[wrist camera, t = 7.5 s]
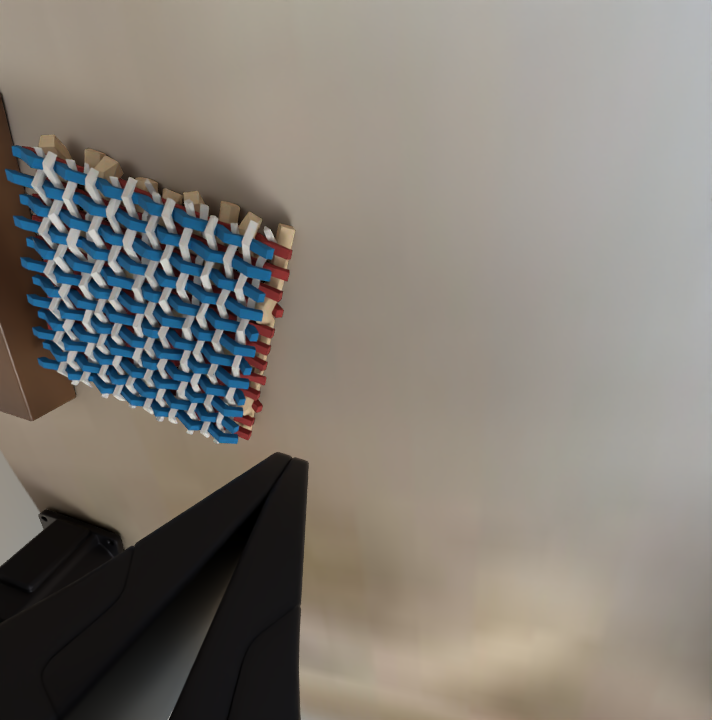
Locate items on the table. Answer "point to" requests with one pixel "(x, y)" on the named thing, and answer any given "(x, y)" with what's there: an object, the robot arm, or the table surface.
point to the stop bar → (21, 308)
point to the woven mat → (151, 290)
